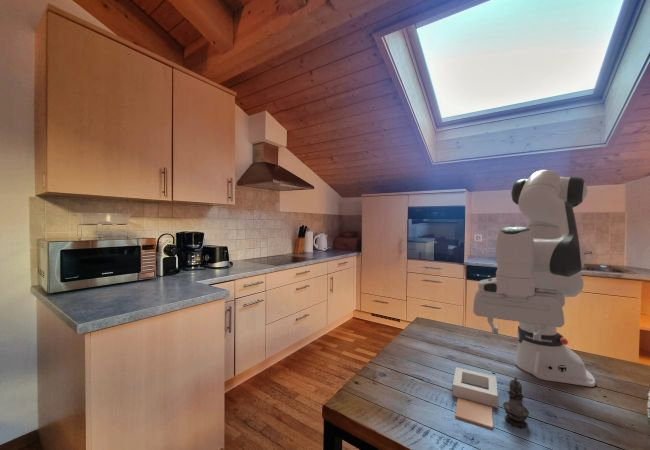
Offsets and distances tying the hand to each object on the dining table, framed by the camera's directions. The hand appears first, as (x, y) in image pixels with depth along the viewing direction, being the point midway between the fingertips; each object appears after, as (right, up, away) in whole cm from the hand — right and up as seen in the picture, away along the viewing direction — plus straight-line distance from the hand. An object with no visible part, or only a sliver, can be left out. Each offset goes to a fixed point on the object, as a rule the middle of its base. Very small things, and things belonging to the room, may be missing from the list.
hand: (515, 336), depth 75 cm
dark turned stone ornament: (0, -23, 0) cm, 23 cm away
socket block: (-4, -23, +14) cm, 27 cm away
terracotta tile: (-10, -23, +3) cm, 25 cm away
